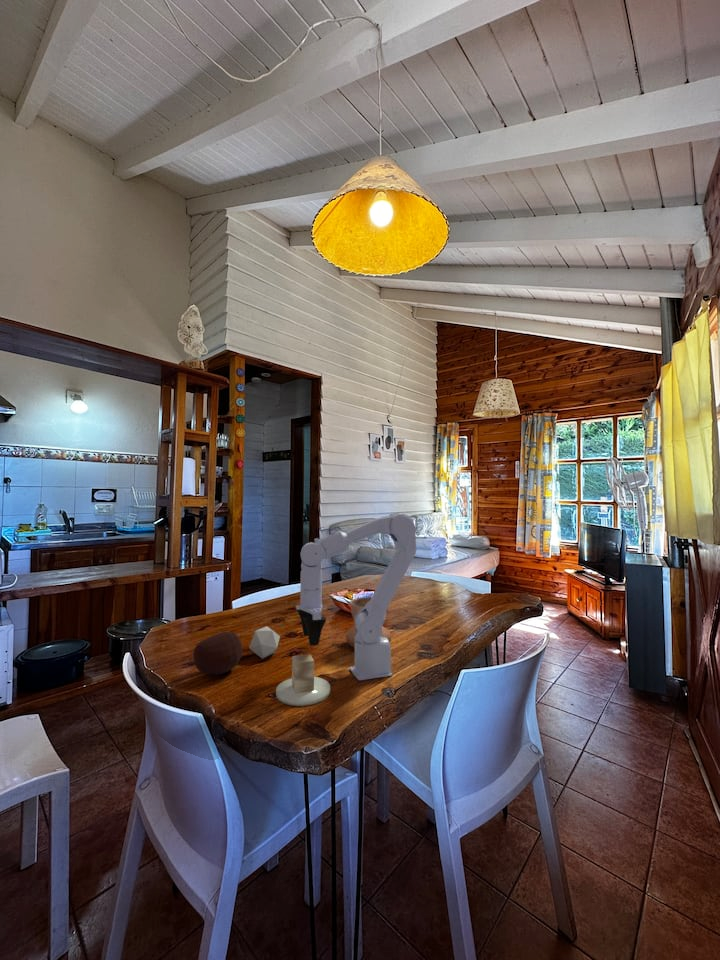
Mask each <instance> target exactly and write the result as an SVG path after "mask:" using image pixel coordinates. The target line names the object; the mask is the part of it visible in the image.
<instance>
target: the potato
mask: <svg viewBox="0 0 720 960" xmlns="http://www.w3.org/2000/svg"><path fill="white" fill-rule="evenodd" d="M242 654H243V643H242V641H241V638H240V637H239V636H238V634H236V633H235V632H234V631H222V632H219V633H217V634H214V635H210V636H209V637H206V638H204V639H203V640H201V641H199V642H198V643H197V644H196V646H195V647H194V650H193V655H192V656H193V663H194V666H195V667H196V669H197V670H198V671H199V672H200V673H202V674H207V675H209V676H210V675H211V676H218V675H223V674H225V673H227V672H230V671H231V670H232V669H234V668H235V667H236V666H237V665H238V664H239V663H240V660H241V658H242Z"/></svg>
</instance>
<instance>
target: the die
mask: <svg viewBox="0 0 720 960" xmlns="http://www.w3.org/2000/svg"><path fill="white" fill-rule="evenodd" d="M280 638H281V636H280V635H279V634H277V632H275V631H274V630H272V629H271V628H270V627H269V626H263V627H262V628H259V629H257V630H255V631H254V634H253V637H252V638H251V642H250V644H249V648H248V649H250V651H252V653H253V652H254V653H255V654H256V655H257V656H258V657H260V658H261V659H262V660H263V659H265V658H267V657H269V656H271V655H273V654H275V652H276V650H277V649H278V646H279V641H280Z"/></svg>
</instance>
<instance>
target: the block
mask: <svg viewBox="0 0 720 960" xmlns="http://www.w3.org/2000/svg"><path fill="white" fill-rule="evenodd" d="M291 664H292V665H291V678H292V687H293V689H294V692H295V694H296V693H302V692H308V691H314V677H315V660H314V658H313V656H312V654H311V653H308V654H307V653H306V654H301V655H292V657H291Z"/></svg>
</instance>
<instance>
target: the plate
mask: <svg viewBox="0 0 720 960" xmlns="http://www.w3.org/2000/svg"><path fill="white" fill-rule="evenodd" d="M330 694H331V684H330V683H329V682H328V681H327V680H326V679H324V678H321V677H317V676H314V691H308V692H302V693H296V694H295V692H294V689H293V687H292V677H291V678H287V679H285V680H284V681H282V682H281V683H279V684H278V686H277V687H276V688H275V697H276V699H277V700H278V701H279V702H280V703H283V704H285V705H288V706H295V707H296V706H297V707H305V706H311V705H315V704H319V703H321V702H323V701H324V700H326V699H327V698H328V697H329V696H330Z"/></svg>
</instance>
